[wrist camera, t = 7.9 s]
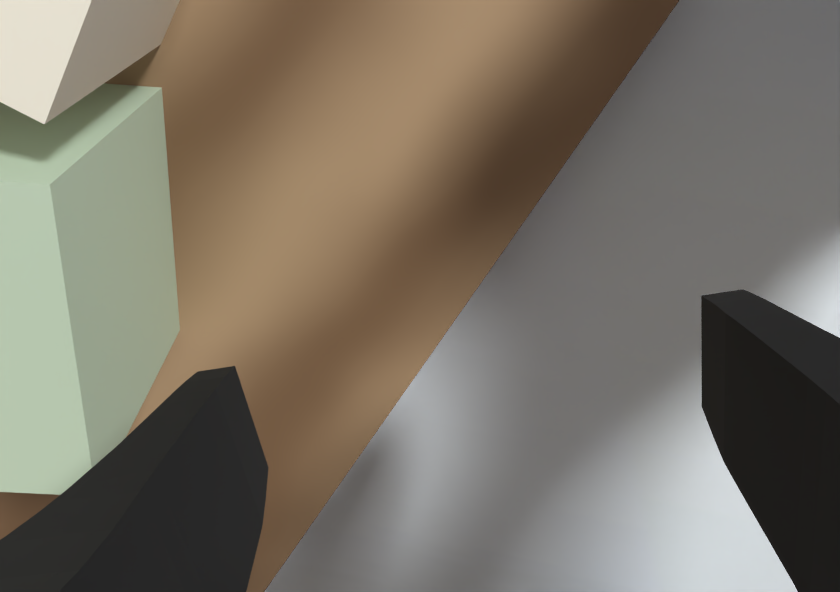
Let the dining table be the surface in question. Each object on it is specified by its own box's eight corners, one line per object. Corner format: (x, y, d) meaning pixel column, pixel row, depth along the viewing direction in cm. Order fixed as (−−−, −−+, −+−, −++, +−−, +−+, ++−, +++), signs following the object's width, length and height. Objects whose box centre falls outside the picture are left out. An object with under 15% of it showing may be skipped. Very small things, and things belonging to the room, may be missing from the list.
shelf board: (674, -30, 19) (730, -10, 16) (244, 595, 28) (222, 690, 25) (-8, -509, 15) (-126, -617, 12) (-242, 407, 24) (-343, 490, 21)
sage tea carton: (161, 87, 18) (49, 184, 13) (179, 330, 21) (95, 496, 16) (-22, 74, 18) (-219, 166, 13) (22, 320, 21) (-121, 485, 16)
